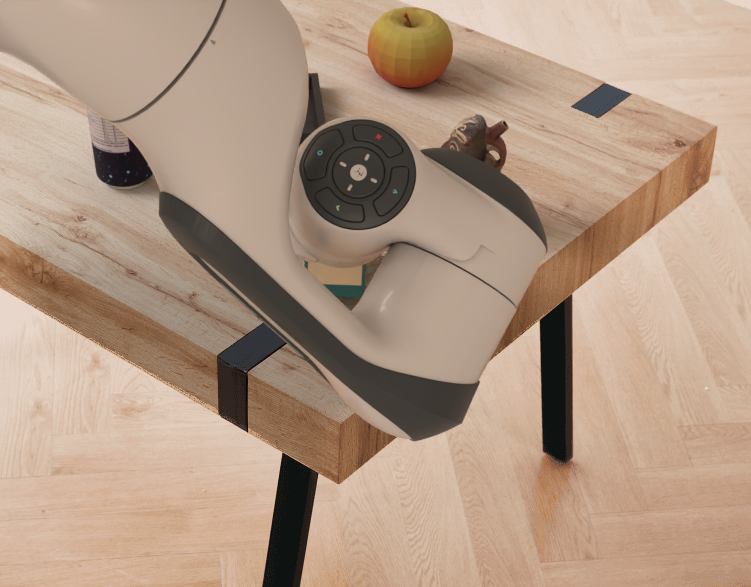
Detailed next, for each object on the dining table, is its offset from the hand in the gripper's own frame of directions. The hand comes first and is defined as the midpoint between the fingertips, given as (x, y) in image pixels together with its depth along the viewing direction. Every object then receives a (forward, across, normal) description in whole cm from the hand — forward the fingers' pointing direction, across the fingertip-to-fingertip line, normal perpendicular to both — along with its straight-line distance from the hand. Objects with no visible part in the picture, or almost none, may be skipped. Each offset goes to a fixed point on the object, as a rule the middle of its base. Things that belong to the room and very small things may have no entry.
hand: (335, 229), depth 94 cm
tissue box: (+2, 0, +3) cm, 4 cm away
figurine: (+9, -13, -1) cm, 16 cm away
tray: (+22, +5, -15) cm, 27 cm away
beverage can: (+15, +20, -7) cm, 26 cm away
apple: (+29, -10, -21) cm, 37 cm away
